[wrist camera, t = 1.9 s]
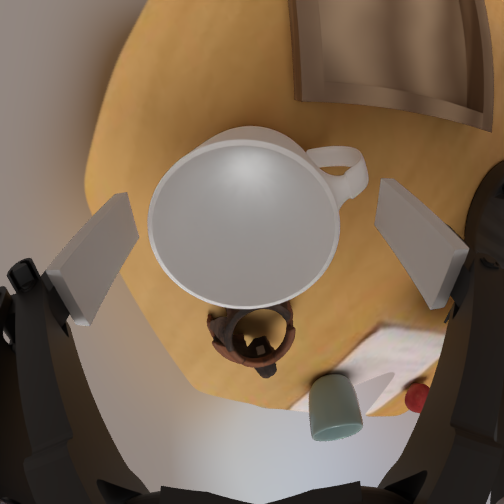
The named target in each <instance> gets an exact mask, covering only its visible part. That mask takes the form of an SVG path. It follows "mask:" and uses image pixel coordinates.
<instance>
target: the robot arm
mask: <svg viewBox="0 0 504 504" xmlns="http://www.w3.org/2000/svg"><path fill="white" fill-rule="evenodd" d="M374 225H375V227H376V228H377V229H378V231H379V232H380V233H381V235H382V236H383V237H384V239H385V240H386V242H387V243H388V244H389V246H390V247H391V249H392V250H393V252H394V253H395V255H396V256H397V257H398V259H399V260H400V262H401V263H402V265H403V266H404V268H405V269H406V271H407V273H408V274H409V276H410V277H411V279H412V280H413V282H414V283H415V285H416V287H417V288H418V290H419V292H420V293H421V295H422V296H423V298H424V300H425V302H426V303H427V305H428V307H429V308H430V310H433V309H438V308H443V307H445V305H446V303H447V301H448V299H449V297H450V295H451V297H452V298H453V300H454V301H455V302H454V304H453V306H452V308H451V310H450V312H449V313H448V315H447V317H446V319H445V321H444V323H446V322H447V321H448V320H449V321H448V326H447V331H446V335H445V339H444V343H443V347H442V351H441V355H440V358H439V362H438V365H437V368H436V372H435V375H434V378H433V381H432V384H431V387H430V390H429V393H428V395H427V398H426V401H425V403H424V406H423V408H422V411H421V413H420V416H419V418H418V421H417V423H416V426H415V428H414V430H413V432H412V434H411V437H410V438H409V441H408V443H407V445H406V447H405V449H404V451H403V453H402V455H401V456H400V458H399V459H398V461H397V462H396V463H395V464H394V466H393V467H392V468H391V469H390V470H389V471H388V472H387V474H386V475H385V477H384V478H383V479H382V481H381V483H380V484H379V486H378V487H377V488H376V487H366V486H361V485H360V481H357V482H353V483H348V484H343V485H339V486H333V487H327V488H320V489H313V490H310V491H307V492H304V493H301V494H298V495H295V496H292V497H288V498H285V499H282V500H278V501H275V502H270V503H267V504H486V502H487V499H488V496H489V494H490V492H491V499H490V501H491V502H490V504H504V161H503V162H501V163H499V164H498V165H496V166H495V167H494V168H493V169H492V170H491V171H490V172H489V173H488V175H487V176H486V177H485V179H484V180H483V182H482V183H481V185H480V186H479V188H478V190H477V192H476V194H475V196H474V199H473V201H472V204H471V207H470V210H469V213H468V217H467V222H466V229H465V241H464V240H463V239H461V237H460V236H459V235H458V234H457V233H455V231H454V230H453V229H452V228H451V227H450V226H448V225H447V224H445V223H444V222H443V221H442V220H441V219H440V218H439V217H438V216H436V215H435V214H434V213H433V212H432V211H431V210H430V209H429V208H428V207H427V206H425V205H424V204H423V203H422V202H421V201H420V200H419V199H417V198H416V197H415V196H414V195H413V194H412V193H410V192H409V191H408V190H407V189H406V188H404V187H403V186H402V185H401V184H400V183H398V182H397V181H396V180H395V179H391V178H381V182H380V190H379V198H378V205H377V211H376V218H375V224H374ZM138 239H139V235H138V231H137V228H136V224H135V221H134V217H133V213H132V209H131V206H130V202H129V198H128V194H127V192H125V193H119V194H115V195H114V196H112V197H111V198H110V199H109V200H108V201H107V202H106V203H105V204H104V205H103V206H102V207H101V208H100V209H99V210H98V211H97V212H96V213H95V214H94V215H93V216H92V217H91V219H90V220H89V221H88V222H87V223H86V224H85V225H84V226H83V227H82V228H81V229H80V230H79V231H78V233H77V234H76V235H75V236H74V237H73V238H72V239H71V240H70V241H69V243H68V244H67V245H66V246H65V247H64V249H62V251H61V252H60V253H59V254H58V255H57V257H56V258H55V259H54V260H53V261H52V263H51V264H50V265H49V267H48V268H47V269H46V270H45V272H44V273H43V274H42V276H40V275H39V273H38V271H37V269H36V267H35V265H34V263H33V261H32V259H31V258H26V259H23V260H21V261H19V262H18V263H16V264H15V265H14V266H13V267H12V268H11V269H10V270H9V271H8V274H7V277H8V279H9V281H10V283H11V284H12V286H13V288H14V289H15V291H16V294H13V295H10V294H9V292H8V291H7V289H6V287H4V286H2V287H0V504H252V503H247V502H243V501H238V500H234V499H230V498H227V497H223V496H219V495H216V494H212V493H209V492H202V491H192V490H184V489H178V488H171V487H166V486H161V491H158V492H152V493H150V492H149V491H148V489H147V488H146V487H145V485H144V484H143V482H142V481H141V480H140V479H139V478H138V477H137V476H136V475H135V474H134V473H133V472H132V471H131V470H130V469H129V468H128V466H127V465H126V463H125V462H124V460H123V458H122V456H121V455H120V453H119V451H118V449H117V447H116V445H115V444H114V442H113V440H112V438H111V436H110V434H109V432H108V430H107V428H106V425H105V423H104V421H103V419H102V417H101V414H100V412H99V410H98V408H97V405H96V403H95V400H94V398H93V396H92V393H91V391H90V388H89V385H88V382H87V380H86V377H85V374H84V371H83V368H82V366H81V362H80V359H79V356H78V353H77V350H76V347H75V343H74V340H73V336H72V332H71V328H70V326H69V324H68V323H67V321H66V320H67V318H68V316H69V314H70V315H71V317H72V319H73V320H74V322H75V323H76V325H85V326H90V325H91V323H92V321H93V319H94V317H95V315H96V313H97V311H98V309H99V307H100V305H101V303H102V301H103V299H104V298H105V296H106V294H107V292H108V290H109V288H110V287H111V285H112V283H113V281H114V279H115V277H116V275H117V274H118V272H119V270H120V269H121V267H122V265H123V263H124V262H125V260H126V258H127V257H128V255H129V253H130V252H131V250H132V248H133V247H134V245H135V243H136V242H137V240H138ZM3 331H4V332H5V334H6V335H7V336H8V337H9V339H10V343H9V344H8V343H7V342H6V341H5V339H4V338H3Z"/></svg>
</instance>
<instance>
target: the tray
mask: <svg viewBox="0 0 504 504" xmlns="http://www.w3.org/2000/svg"><path fill="white" fill-rule="evenodd" d="M288 4H289V15H290V27H291V40H292V55H293V73H294V95H295V100H298V101H307V102H332V103H347V104H358V105H368V106H376V107H384V108H391V109H397V110H403V111H409V112H415V113H420V114H425V115H430V116H434V117H439V118H443V119H447V120H451V121H455V122H458V123H462V124H466V125H469V126H473V127H476V128H479V129H482V130H485V131H488V132H491V133H492V123H493V106H494V72H493V55H492V45H491V36H490V29H489V23H488V17H487V12H486V7H485V2H484V0H288Z"/></svg>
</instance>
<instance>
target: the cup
mask: <svg viewBox="0 0 504 504" xmlns="http://www.w3.org/2000/svg"><path fill="white" fill-rule="evenodd" d="M309 417H310V427H311V435H312V438H313V439H314V440H316V441H332V440H338V439H342V438H346V437H349V436H351V435H353V434H356V433H357V432H359V431H360V430H361V429H362V427H363V422H362V416H361V412H360V407H359V402H358V399H357V395H356V392H355V389H354V387H353V385H352V383H351V381H350V380H349V379H348V378H347V377H345V376H343V375H339V374H331V375H326V376H323V377H321V378H319V379H318V380H316V381H315V382H314V384H313V385H312V387H311V389H310V393H309Z"/></svg>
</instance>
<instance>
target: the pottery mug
mask: <svg viewBox="0 0 504 504" xmlns="http://www.w3.org/2000/svg"><path fill="white" fill-rule="evenodd" d="M258 309H270V310H274V311H276V312H278V313H279V314H281V315H282V317H283V318H284V319H285V320H286V322H287V327H286V334H285V337H284V340H283V342H282V343H281V345H280V346H279V347H278V348H277V349H276V350H274V348H273V347H272V346H271V345H270V343H269V341H268V340H267V338H266V336H262V337H259V338H254V339H253V341H252V342H251V343H250V345H249V346H248V347H247V345H246V341H245V340H244V335H243V334H233V331H234V328H235V326H236V324H237V322H238V321H239V320H240V319H241V318H242V317H244V316H245V315H247V314H248V313H250V312H252V311H254V310H258ZM226 311H227V317H222V316H221V317H218V318H217V319H215V320H213V319H212V316H211V315H208V318H207V326H208V329H209V331H210V333H211V335H212V337H213V339H214V340H213V341H212V344H213V346H214V348H215V349H216V350H217V351H218V352H219V353H220V354H221V355H222V356H223V357H225V358H226V359H228V360H230V361H233V362H236V363H239V364H243V365H244V366H247V367H254V368H255V369H256V371H257V372H258V373H259V374H260V376H262V377H263V378H269V377H271V376H273V375H274V374H275V373H276V371H277V368H276V364H275V362H276V361H278V360H279V359H280V358H281V357H283V356H284V355H285V354H286V353H287V351H288V350H289V349H290V347H291V345H292V343H293V340H294V338H295V328H294V327H293V320H292V319H293V311H292V308H291V305H290V303H289V301H285V302H283V303H280V304H277V305H273V306H269V307H264V308H257V309H234V308H227V307H226Z"/></svg>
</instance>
